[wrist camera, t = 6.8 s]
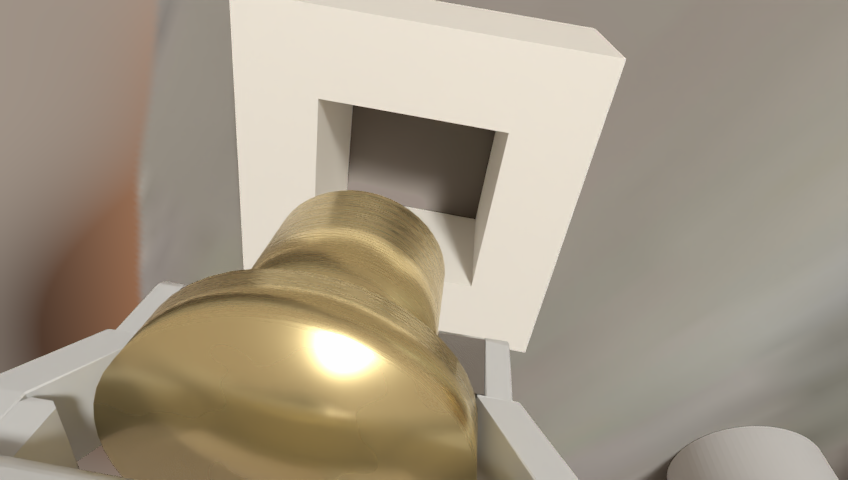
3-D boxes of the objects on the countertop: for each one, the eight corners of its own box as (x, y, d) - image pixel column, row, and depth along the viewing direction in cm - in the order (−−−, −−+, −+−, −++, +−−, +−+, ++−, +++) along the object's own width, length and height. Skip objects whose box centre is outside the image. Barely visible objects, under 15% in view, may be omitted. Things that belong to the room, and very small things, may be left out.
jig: (519, 277, 24) (524, 352, 20) (289, 234, 24) (245, 299, 20) (594, 28, 18) (626, 58, 14) (290, -26, 18) (229, -11, 14)
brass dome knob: (458, 372, 15) (443, 592, 10) (247, 336, 15) (131, 535, 10) (504, 178, 11) (517, 366, 7) (232, 133, 11) (47, 285, 7)
